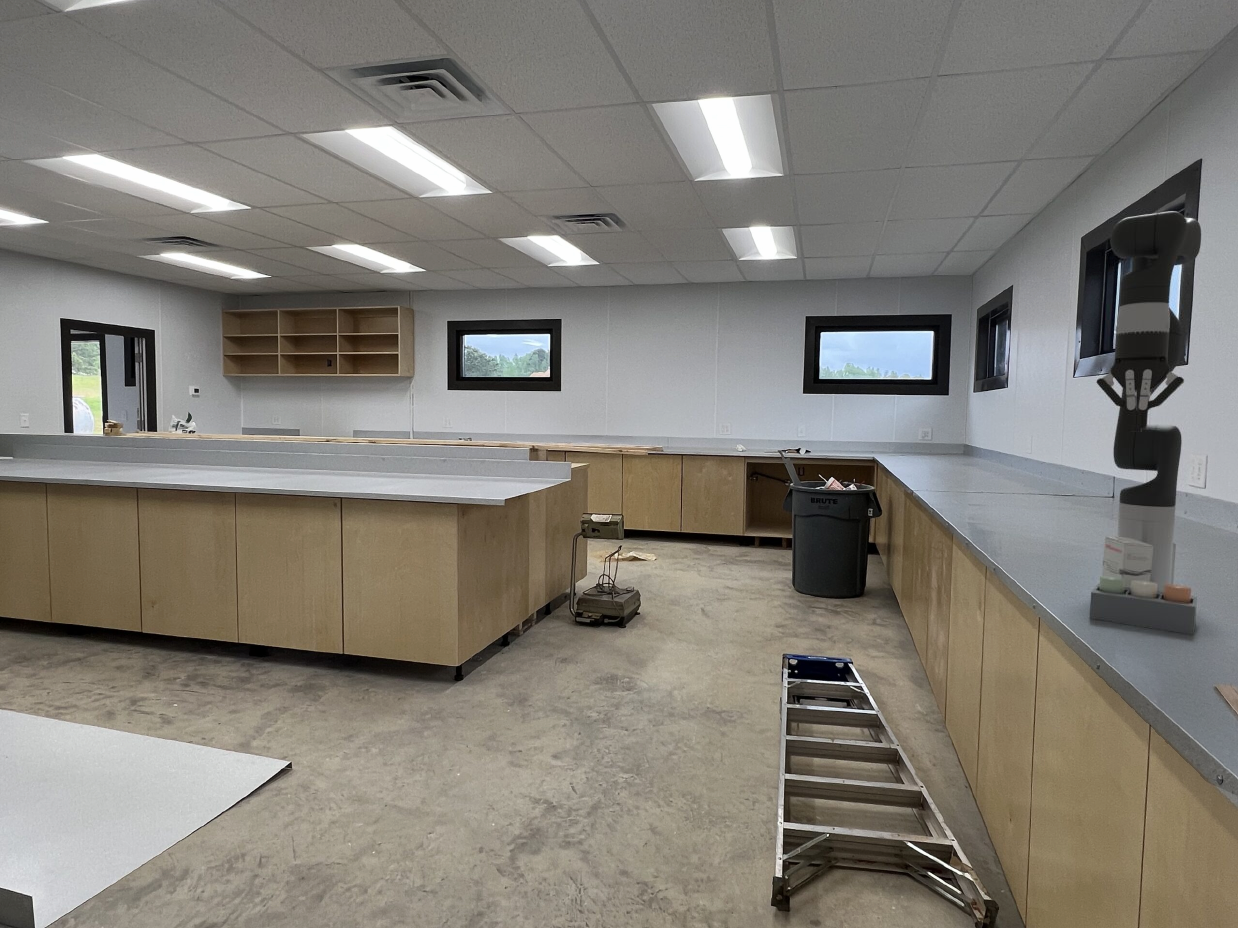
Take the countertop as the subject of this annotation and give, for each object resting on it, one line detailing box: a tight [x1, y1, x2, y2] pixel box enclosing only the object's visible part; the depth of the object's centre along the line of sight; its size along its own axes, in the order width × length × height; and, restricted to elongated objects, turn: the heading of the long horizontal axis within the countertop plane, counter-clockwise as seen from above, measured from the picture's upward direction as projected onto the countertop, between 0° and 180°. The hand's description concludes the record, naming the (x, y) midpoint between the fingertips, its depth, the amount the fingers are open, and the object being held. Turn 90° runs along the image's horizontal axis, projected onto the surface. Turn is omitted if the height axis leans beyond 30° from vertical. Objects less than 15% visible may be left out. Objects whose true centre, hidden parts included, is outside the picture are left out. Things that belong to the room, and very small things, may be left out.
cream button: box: [1130, 580, 1157, 598], centre depth 124 cm, size 4×4×3 cm
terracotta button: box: [1163, 584, 1192, 603], centre depth 121 cm, size 4×4×3 cm
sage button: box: [1099, 575, 1125, 594], centre depth 127 cm, size 4×4×3 cm
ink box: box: [1101, 535, 1153, 588], centre depth 137 cm, size 9×5×12 cm, turn 168°
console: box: [1089, 583, 1198, 635], centre depth 125 cm, size 9×14×4 cm, turn 50°
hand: (1136, 431), depth 129 cm, fingers closed
